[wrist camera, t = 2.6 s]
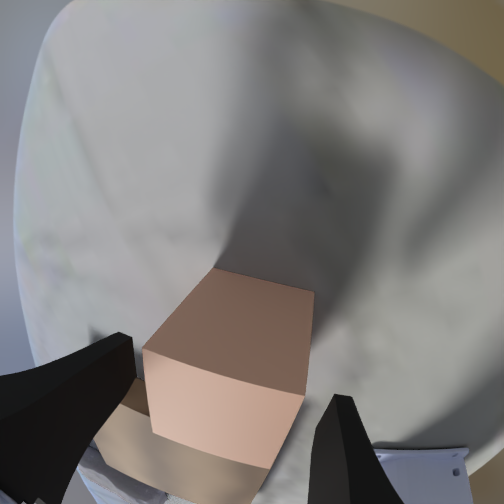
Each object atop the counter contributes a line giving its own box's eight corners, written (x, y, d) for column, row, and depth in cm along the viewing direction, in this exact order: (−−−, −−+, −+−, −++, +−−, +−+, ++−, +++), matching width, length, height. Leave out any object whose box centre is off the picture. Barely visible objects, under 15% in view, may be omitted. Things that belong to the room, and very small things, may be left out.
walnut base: (283, 424, 15) (276, 457, 13) (248, 496, 20) (242, 516, 18) (88, 354, 17) (67, 374, 15) (117, 448, 22) (106, 464, 20)
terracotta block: (314, 291, 12) (305, 395, 7) (290, 368, 14) (269, 469, 8) (213, 267, 13) (141, 347, 7) (205, 345, 14) (152, 432, 9)
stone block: (173, 494, 29) (168, 484, 23) (160, 518, 25) (151, 516, 19) (102, 456, 31) (81, 435, 25) (87, 478, 27) (63, 462, 21)
